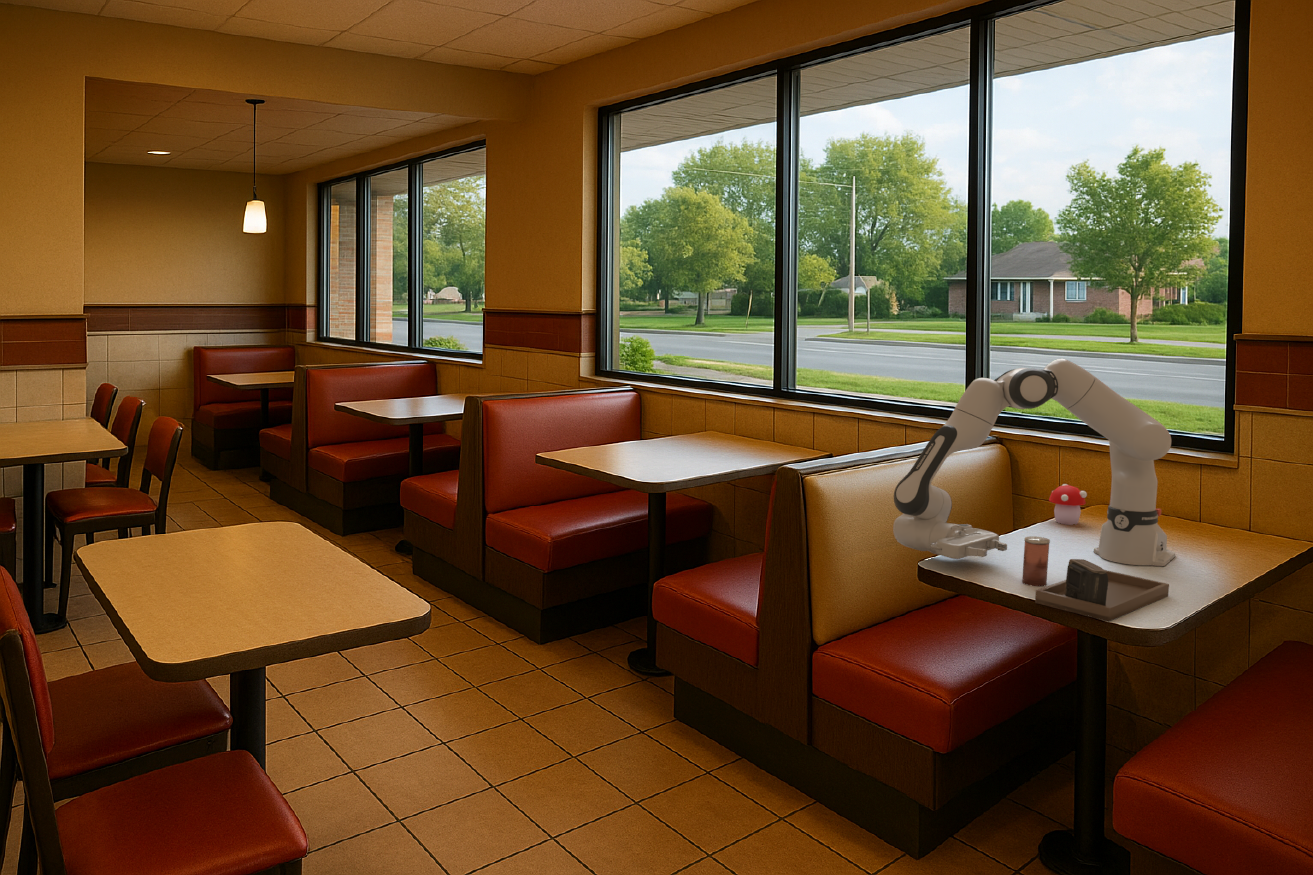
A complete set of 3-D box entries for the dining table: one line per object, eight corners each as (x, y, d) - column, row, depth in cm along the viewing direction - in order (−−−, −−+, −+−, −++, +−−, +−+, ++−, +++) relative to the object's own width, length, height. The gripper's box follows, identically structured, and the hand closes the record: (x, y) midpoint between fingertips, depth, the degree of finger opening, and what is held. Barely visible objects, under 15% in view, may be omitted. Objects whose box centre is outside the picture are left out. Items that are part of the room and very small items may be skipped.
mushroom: (1085, 527, 300) (1088, 489, 298) (1047, 524, 304) (1049, 486, 302) (1083, 520, 310) (1086, 483, 308) (1046, 517, 314) (1049, 480, 312)
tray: (1097, 580, 242) (1098, 568, 242) (1168, 596, 229) (1169, 583, 229) (1035, 602, 223) (1035, 590, 223) (1108, 621, 210) (1109, 608, 210)
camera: (1109, 614, 215) (1113, 570, 214) (1083, 614, 215) (1087, 570, 214) (1083, 599, 227) (1087, 557, 225) (1059, 599, 226) (1063, 557, 225)
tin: (1029, 578, 243) (1032, 535, 242) (1051, 583, 239) (1054, 539, 237) (1017, 582, 240) (1020, 538, 238) (1039, 587, 235) (1042, 543, 234)
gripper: (925, 534, 250) (973, 544, 240) (970, 523, 263) (1017, 532, 253) (924, 558, 251) (972, 569, 241) (969, 545, 264) (1015, 556, 254)
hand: (995, 550), depth 247 cm, fingers open, 8 cm apart
